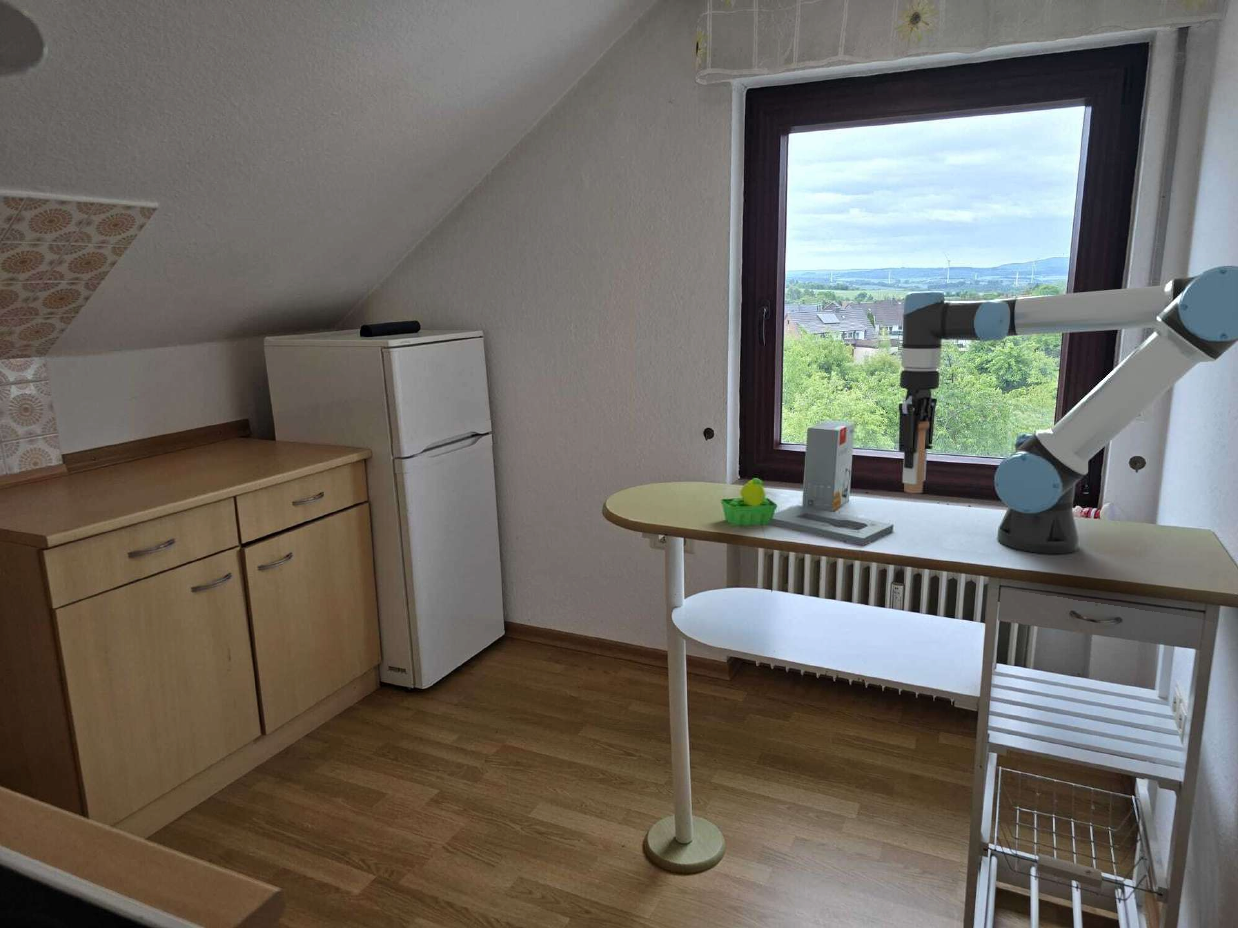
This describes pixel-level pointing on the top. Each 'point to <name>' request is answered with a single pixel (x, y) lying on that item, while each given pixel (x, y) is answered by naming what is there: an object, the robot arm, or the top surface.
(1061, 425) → the robot arm
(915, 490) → the peg
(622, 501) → the top surface
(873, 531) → the keyhole board
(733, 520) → the fruit basket
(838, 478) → the hard drive box
